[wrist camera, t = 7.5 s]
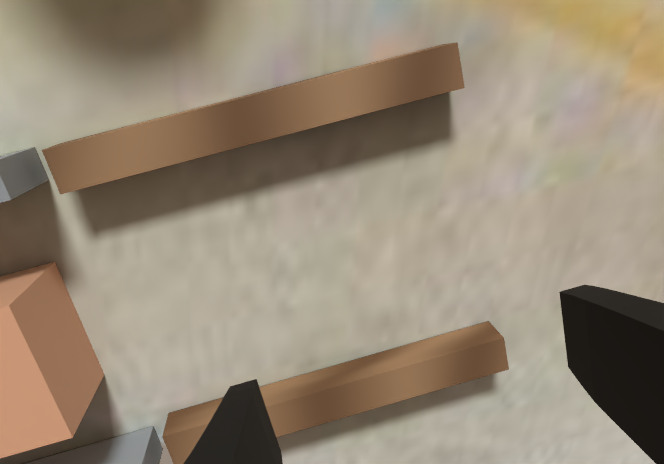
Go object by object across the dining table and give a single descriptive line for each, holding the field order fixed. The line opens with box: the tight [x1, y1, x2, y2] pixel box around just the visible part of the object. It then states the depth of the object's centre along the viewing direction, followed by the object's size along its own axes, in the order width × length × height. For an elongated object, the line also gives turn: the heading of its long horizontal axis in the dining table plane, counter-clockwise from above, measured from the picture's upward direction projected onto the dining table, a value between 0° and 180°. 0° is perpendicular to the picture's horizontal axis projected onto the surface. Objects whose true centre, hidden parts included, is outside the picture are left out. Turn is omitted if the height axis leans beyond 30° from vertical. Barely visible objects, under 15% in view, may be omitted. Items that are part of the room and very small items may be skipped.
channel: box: [42, 43, 509, 464], centre depth 20 cm, size 14×13×2 cm
